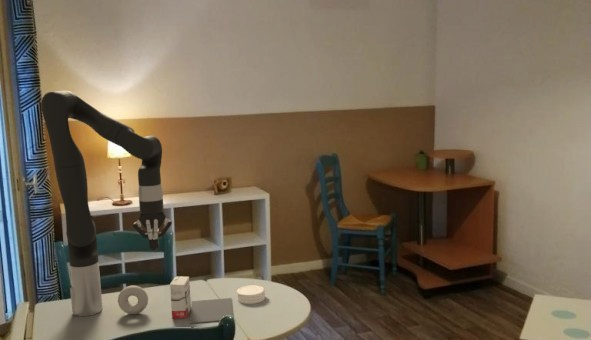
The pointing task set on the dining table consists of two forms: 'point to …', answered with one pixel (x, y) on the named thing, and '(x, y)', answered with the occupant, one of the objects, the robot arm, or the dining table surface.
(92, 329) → the dining table surface
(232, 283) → the dining table surface
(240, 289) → the white round lidded container
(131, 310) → the donut
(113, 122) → the robot arm
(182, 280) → the ink box
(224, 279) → the dining table surface
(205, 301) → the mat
